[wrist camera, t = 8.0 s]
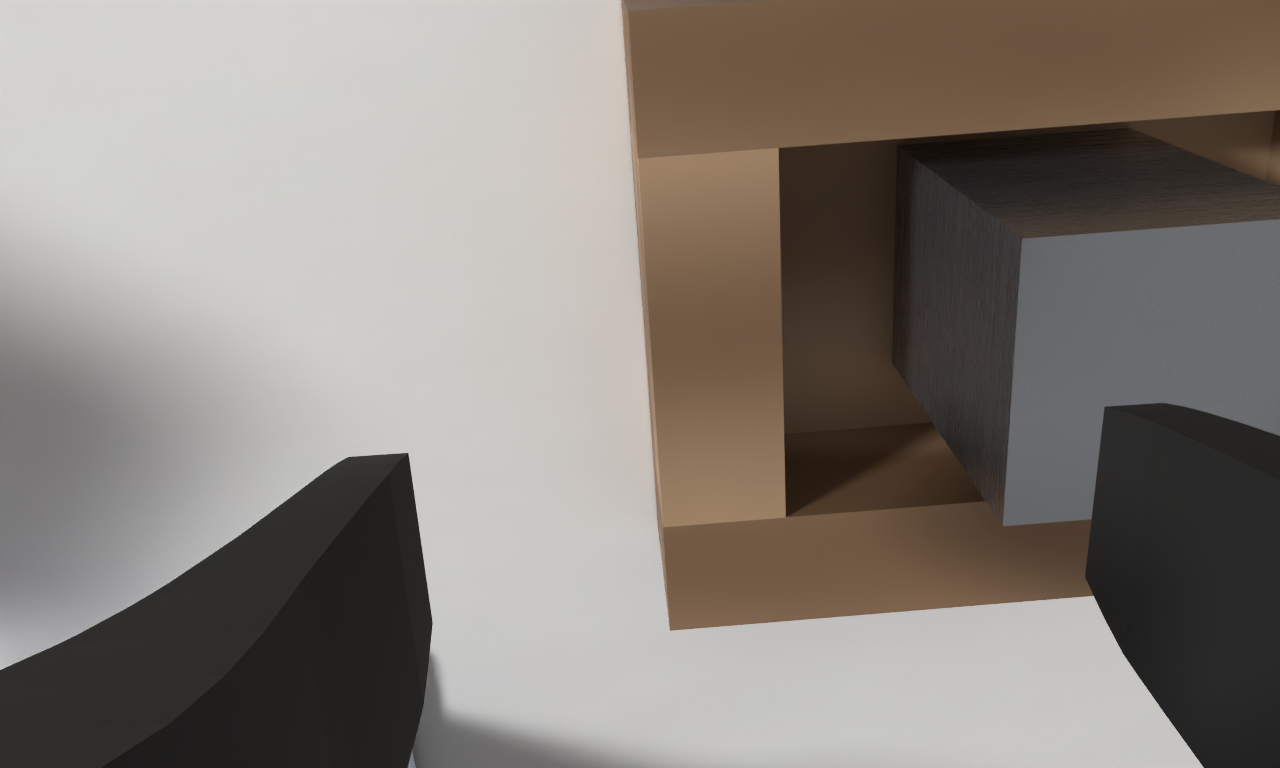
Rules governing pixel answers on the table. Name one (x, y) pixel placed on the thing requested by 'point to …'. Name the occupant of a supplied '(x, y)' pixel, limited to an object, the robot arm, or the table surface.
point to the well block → (865, 270)
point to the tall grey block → (1078, 301)
